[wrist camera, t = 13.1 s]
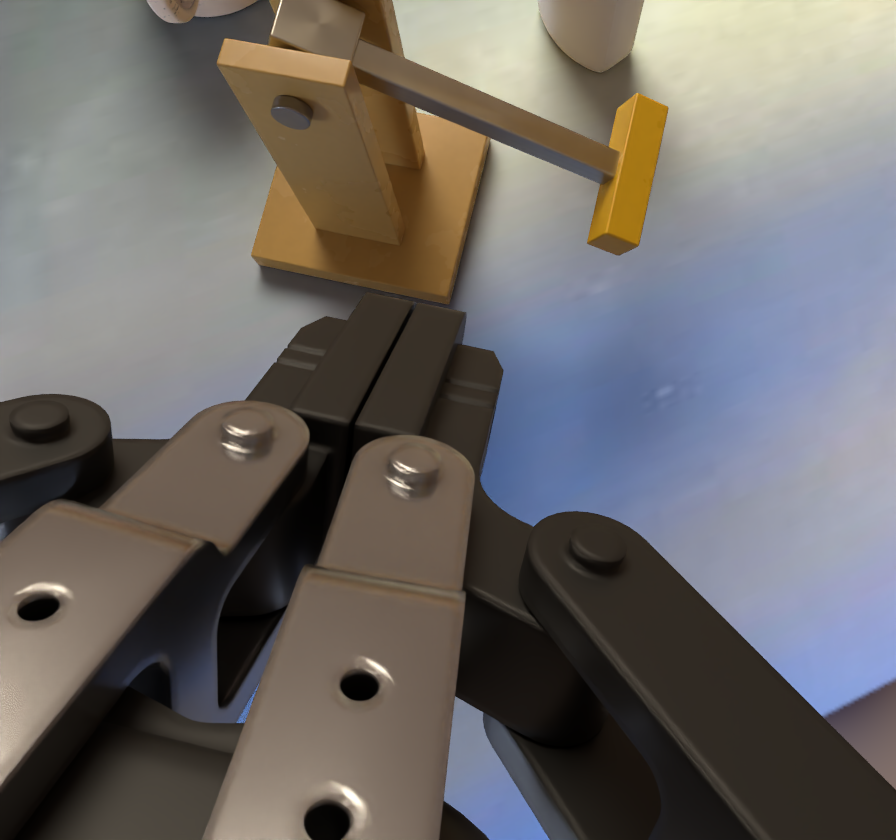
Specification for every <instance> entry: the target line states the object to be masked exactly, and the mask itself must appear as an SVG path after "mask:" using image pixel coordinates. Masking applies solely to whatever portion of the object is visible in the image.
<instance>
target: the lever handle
mask: <svg viewBox="0 0 896 840" xmlns="http://www.w3.org/2000/svg"><path fill="white" fill-rule="evenodd" d="M364 18H365V13H364V12H363V11H360V10H358V9H356V8H354V7H351V6H349V5H347V4H345V3H342V2H340V1H338V0H280V1H279V4H278V8H277V11H276V15H275V18H274V21H273V25H272V28H271V31H270V35H269V39H268V43H267V46H273V47H278V48H284V49H290V50H295V51H301V52H307V53H312V54H318V55H324V56H329V57H335V58H341V59H346V60H350V61H352V64H353V67H354V70H355V73H356V76H357V80H358V83H359V84H362V85H364V86H367V87H369V88H371V89H374V90H376V91H379V92H381V93H383V94H386V95H388V96H391V97H393V98H395V99H398V100H400V101H403V102H405V103H407V104H410V105H412V106H415V107H417V108H419V109H422V110H424V111H427V112H429V113H431V114H434V115H436V116H439V117H441V118H443V119H446V120H448V121H451V122H453V123H455V124H458V125H460V126H463V127H465V128H467V129H470V130H472V131H475V132H477V133H479V134H482V135H484V136H487V137H489V138H491V139H494V140H496V141H499V142H501V143H503V144H506V145H508V146H511V147H513V148H515V149H518V150H520V151H523V152H525V153H527V154H530V155H532V156H535V157H537V158H539V159H542V160H544V161H547V162H549V163H551V164H554V165H556V166H559V167H561V168H563V169H566V170H568V171H571V172H573V173H575V174H578V175H580V176H583V177H585V178H587V179H590V180H592V181H595V182H597V183H599V184H600V187H599V192H598V196H597V201H596V205H595V210H594V214H593V218H592V223H591V227H590V232H589V236H588V241H587V243H588V244H589V245H592V246H594V247H597V248H599V249H602V250H605V251H607V252H610V253H612V254H615V255H618V256H619V255H621V254H623V253H626V252H628V251H630V250H632V249H634V248H636V247H638V246H639V243H640V238H641V233H642V229H643V224H644V219H645V215H646V210H647V205H648V201H649V196H650V192H651V187H652V182H653V178H654V173H655V168H656V164H657V159H658V155H659V150H660V145H661V141H662V136H663V131H664V127H665V122H666V117H667V113H668V107H667V106H665V105H663V104H661V103H659V102H656V101H654V100H652V99H650V98H648V97H646V96H644V95H641V94H639V93H636V94H635V95H634V96H632V97H631V98H630V99H629V100H627V101H626V102H625V103H624V104H622V105H621V106H620V107H619V108H618V109H617V112H616V117H615V121H614V125H613V130H612V134H611V139H610V143H609V147H608V146H606V145H603V144H601V143H599V142H596V141H594V140H592V139H590V138H587V137H585V136H583V135H580V134H578V133H576V132H573V131H571V130H569V129H567V128H564V127H562V126H560V125H557V124H555V123H553V122H550V121H548V120H546V119H543V118H541V117H539V116H537V115H534V114H532V113H530V112H527V111H525V110H523V109H520V108H518V107H516V106H514V105H511V104H509V103H507V102H504V101H502V100H500V99H497V98H495V97H493V96H491V95H488V94H486V93H484V92H481V91H479V90H477V89H474V88H472V87H470V86H468V85H465V84H463V83H461V82H458V81H456V80H454V79H451V78H449V77H447V76H444V75H442V74H440V73H438V72H435V71H433V70H431V69H428V68H426V67H424V66H421V65H419V64H417V63H415V62H412V61H410V60H408V59H405V58H403V57H401V56H398V55H396V54H394V53H392V52H389V51H387V50H385V49H382V48H380V47H378V46H375V45H373V44H371V43H369V42H366V41H364V40H362V39H359V36H360V32H361V29H362V25H363V22H364Z"/></svg>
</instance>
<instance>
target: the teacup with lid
mask: <svg viewBox="0 0 896 840" xmlns="http://www.w3.org/2000/svg"><path fill="white" fill-rule="evenodd" d="M256 1H257V0H147V2H148V4H149V5H150V7H151V8H152V10H153V11H154V12H155V13H156V14H157V15H158V16H159V17H160V18H161V19H163V20H164V21H167V22H170V23H185V22H188V21H189V20H191V19H192V18H193V16H198V17H215V16H222V15H227V14H231V13H234V12H237V11H239V10H241V9H244V8H246V7H248V6H249V5H251V4H253V3H254V2H256Z"/></svg>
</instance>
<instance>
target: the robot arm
mask: <svg viewBox="0 0 896 840" xmlns="http://www.w3.org/2000/svg"><path fill="white" fill-rule="evenodd" d="M465 323H466V312H462V311H457V310H452V309H447V308H442V307H437V306H433V305H428V304H423V303H418V304H417V305H416V303H415V302H413V301H408V300H403V299H398V298H393V297H389V296H384V295H379V294H374V293H369V292H367V293H366V294H365V295H364V296H363V298H362V299H361V301H360V302H359V304H358V305H357V307H356V308H355V310H354V311H353V313H352V314H351V316H350V317H349V319H348V320H342V319H337V318H332V317H328V316H326V317H323V318H321V319H319V320H317V321H315V322H313V323H311V324H309V325H306V326H304V327H302V328H301V329H300V330H299V331H298V333H297V334H296V335H295V337H294V338H293V339H292V340H291V342H290V343H289V344H288V348H285V349H284V351H283V352H282V353H281V355H280V356H279V357H278V358H277V362H276V363H275V362H274V364H273V365H272V366H271V367H270V369H269V370H268V371H267V373H266V374H265V375H264V376H263V378H262V379H261V380H260V382H259V383H258V384H257V385H256V387H255V388H254V389H253V391H252V392H251V393H250V394H249V396H248V397H247V398H246V400H245V401H232V402H226V403H221V404H218V405H214V406H211V407H209V408H206V409H204V410H203V411H201V412H199V413H198V414H196V415H195V416H194V417H193V418H191V419H190V420H189V421H188V422H187V423H186V424H185V425H184V426H183V427H182V428H181V429H180V430H179V431H178V432H177V433H176V434H175V435H174V436H173V437H172V438H171V439H112V431H111V422H110V418H109V416H108V414H107V413H106V411H105V410H104V409H103V408H102V407H100V406H99V405H97V404H96V403H94V402H92V401H89V400H87V399H84V398H80V397H76V396H70V395H61V394H41V395H32V396H26V397H21V398H16V399H12V400H8V401H4V402H0V840H489V839H488V838H487V836H486V835H485V834H484V833H483V832H482V831H480V830H479V829H478V828H477V827H476V826H475V825H474V824H473V823H472V822H470V821H469V820H468V819H467V818H466V817H465V816H464V815H463V814H461V813H460V812H459V811H457V810H456V809H455V808H453V807H452V806H450V805H449V804H448V803H446V802H445V801H443V800H444V791H445V782H446V773H447V764H448V754H449V745H450V736H451V727H452V718H453V709H454V700H455V696H456V697H458V698H459V699H461V700H463V701H465V702H466V703H468V704H470V705H472V706H473V707H475V708H477V709H479V710H480V711H482V712H484V713H483V723H484V729H485V732H486V735H487V738H488V739H489V741H490V743H491V745H492V747H493V748H494V750H495V752H496V753H497V755H498V757H499V758H500V760H501V761H502V763H503V765H504V766H505V768H506V770H507V771H508V773H509V774H510V776H511V778H512V779H513V781H514V783H515V784H516V786H517V787H518V789H519V791H520V792H521V794H522V795H523V797H524V799H525V800H526V802H527V804H528V805H529V807H530V808H531V810H532V812H533V813H534V815H535V817H536V818H537V820H538V821H539V823H540V825H541V826H542V828H543V830H544V831H545V833H546V834H547V836H548V838H549V839H550V840H896V790H895V789H894V788H893V787H892V786H891V785H890V784H889V783H888V782H887V781H886V780H885V779H884V778H883V777H882V776H881V775H880V774H879V773H878V772H877V771H876V770H875V769H874V768H873V767H872V766H871V765H870V764H869V763H868V762H867V761H866V760H865V759H864V758H863V757H862V756H861V755H860V754H859V753H858V752H857V751H856V750H855V749H854V748H853V747H852V746H851V745H850V744H849V743H848V742H847V741H846V740H845V739H844V738H843V737H842V736H841V735H840V734H839V733H838V732H837V731H836V730H835V729H834V728H833V727H832V726H831V725H830V724H829V723H828V722H827V721H826V720H825V719H824V718H823V717H822V716H821V715H820V714H819V713H818V712H817V711H816V710H815V709H814V708H813V707H812V706H811V705H810V704H809V703H808V702H807V701H806V700H805V699H804V698H803V697H802V696H801V695H800V694H799V693H798V692H797V691H796V690H795V689H794V688H793V687H792V686H791V685H790V684H789V683H788V682H787V681H786V680H785V679H784V678H783V677H782V676H781V675H780V674H779V673H778V672H777V671H776V670H775V669H774V668H773V667H772V666H771V665H770V664H769V663H768V662H767V661H766V660H765V659H764V658H763V657H762V656H761V655H760V654H759V653H758V652H757V651H756V650H755V649H754V648H753V647H752V646H751V645H750V644H749V643H748V642H747V641H746V640H745V639H744V638H743V637H742V636H741V635H740V634H739V633H738V632H737V631H736V630H735V629H734V628H733V627H732V626H731V625H730V624H729V623H728V622H727V621H726V620H725V619H724V618H723V617H722V616H721V615H720V614H719V613H718V612H717V611H716V610H715V609H714V608H713V607H712V606H711V605H710V604H709V603H708V602H707V601H706V600H705V599H704V598H703V597H702V596H701V595H700V594H699V593H698V592H697V591H696V590H695V589H694V588H693V587H692V586H691V585H690V584H689V583H688V582H687V581H686V580H685V579H684V578H683V577H682V576H681V575H680V574H679V573H678V572H677V571H676V570H675V569H674V568H673V567H672V566H671V565H670V564H669V563H668V562H667V561H666V560H665V559H664V558H663V557H662V556H661V555H660V554H659V553H658V552H657V551H656V550H655V549H654V548H653V547H652V546H651V545H650V544H649V543H648V542H647V541H646V540H645V539H644V538H643V537H642V536H641V535H639V534H638V533H637V532H635V531H634V530H632V529H631V528H630V527H628V526H626V525H624V524H622V523H620V522H618V521H616V520H614V519H611V518H609V517H605V516H602V515H599V514H594V513H589V512H578V511H573V512H562V513H556V514H553V515H550V516H548V517H546V518H544V519H542V520H541V521H540V522H538V523H537V524H536V525H535V526H534V527H533V526H531V525H529V524H527V523H524V522H522V521H520V520H518V519H516V518H515V517H513V516H511V515H509V514H508V513H506V512H505V511H503V510H502V509H500V508H499V507H498V506H497V505H496V504H495V503H494V502H493V501H492V500H491V499H490V498H489V497H488V496H487V494H486V493H485V491H484V489H483V488H482V485H481V482H480V477H481V473H482V469H483V465H484V461H485V457H486V452H487V447H488V443H489V438H490V433H491V428H492V423H493V419H494V414H495V409H496V404H497V399H498V395H499V390H500V385H501V380H502V375H503V369H502V367H501V365H500V363H499V361H498V359H497V357H496V355H495V353H494V351H490V350H485V349H480V348H476V347H471V346H466V345H462V341H463V335H464V329H465ZM259 682H260V683H259ZM258 684H259V686H258ZM257 686H258V688H257V691H256V694H255V697H254V699H253V702H252V705H251V707H250V710H249V713H248V716H247V718H246V721H245V723H236V722H237V721H238V719H239V717H240V715H241V714H242V712H243V710H244V708H245V707H246V705H247V703H248V701H249V700H250V698H251V696H252V694H253V693H254V691H255V689H256V687H257Z"/></svg>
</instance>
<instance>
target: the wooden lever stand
mask: <svg viewBox="0 0 896 840" xmlns="http://www.w3.org/2000/svg"><path fill="white" fill-rule="evenodd" d="M279 1H280V0H269V2H270V4H271V6H272V8H273V11H274V13H275V15H276V11H277V8H278V4H279ZM338 1H340V2H342V3H345V4H347V5H349V6H351V7H354V8H356V9H358V10H360V11H363V12H364V13H365V18H364V22H363V25H362V29H361V32H360V36H359V39H362V40H364V41H366V42H369V43H371V44H373V45H375V46H378V47H380V48H382V49H385V50H387V51H389V52H392V53H394V54H396V55H398V56H401V57H403V58H405V57H404V53H403V48H402V43H401V39H400V34H399V30H398V25H397V20H396V16H395V11H394V6H393V2H392V0H338ZM217 66H218V68H219V69H220V71H221V73H222V74H223V76H224V78H225V79H226V81H227V83H228V84H229V86H230V88H231V89H232V91H233V93H234V94H235V96H236V98H237V99H238V101H239V103H240V104H241V106H242V108H243V109H244V111H245V113H246V114H247V116H248V118H249V119H250V121H251V123H252V124H253V126H254V127H255V129H256V131H257V132H258V134H259V136H260V137H261V139H262V141H263V142H264V144H265V146H266V147H267V149H268V151H269V152H270V154H271V156H272V157H273V159H274V161H275V162H276V164H277V167H276V170H275V174H274V177H273V181H272V184H271V188H270V191H269V195H268V198H267V201H266V205H265V208H264V212H263V215H262V219H261V222H260V226H259V229H258V233H257V236H256V239H255V243H254V246H253V250H252V253H251V256H252V258H253V259H254V260H255V261H256V262H257V263H258V264H259V265H262V266H267V267H272V268H276V269H281V270H286V271H291V272H295V273H300V274H305V275H310V276H314V277H319V278H324V279H329V280H334V281H338V282H343V283H348V284H353V285H357V286H362V287H367V288H372V289H376V290H381V291H386V292H391V293H395V294H400V295H405V296H410V297H415V298H419V299H424V300H429V301H434V302H438V303H443V304H449V303H450V300H451V296H452V292H453V288H454V284H455V280H456V276H457V272H458V268H459V264H460V260H461V256H462V252H463V248H464V244H465V240H466V236H467V232H468V228H469V224H470V220H471V216H472V212H473V208H474V204H475V200H476V195H477V191H478V187H479V183H480V179H481V175H482V171H483V167H484V163H485V159H486V155H487V151H488V147H489V143H490V138H489V137H487V136H484V135H482V134H479V133H477V132H475V131H472V130H470V129H467V128H465V127H463V126H460V125H458V124H455V123H453V122H451V121H448V120H446V119H443V118H441V117H437V116H431V115H426V114H421V113H416V109H415V106H412V105H410V104H407V103H405V102H403V101H400V100H398V99H395V98H393V97H391V96H388V95H386V94H383V93H381V92H379V91H376V90H374V89H371V88H369V87H367V86H364V85H362V84H359V83H358V80H357V76H356V73H355V70H354V67H353V64H352V61H350V60H346V59H341V58H335V57H329V56H324V55H318V54H312V53H307V52H301V51H295V50H290V49H284V48H278V47H273V46H267V45H262V44H256V43H250V42H245V41H239V40H233V39H228V38H225V39H224V41H223V44H222V48H221V51H220V54H219V57H218V61H217Z"/></svg>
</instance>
